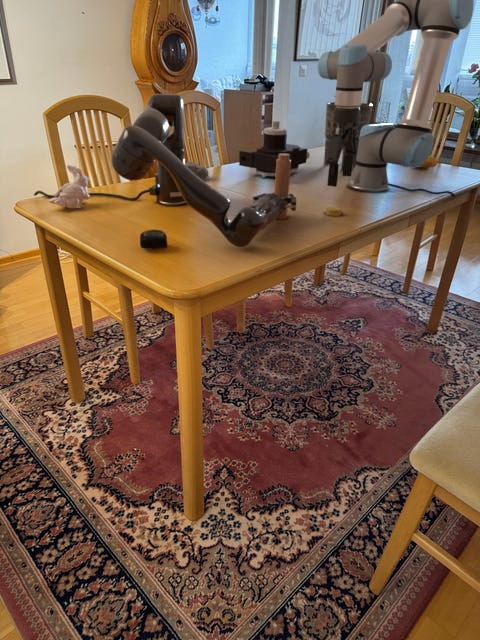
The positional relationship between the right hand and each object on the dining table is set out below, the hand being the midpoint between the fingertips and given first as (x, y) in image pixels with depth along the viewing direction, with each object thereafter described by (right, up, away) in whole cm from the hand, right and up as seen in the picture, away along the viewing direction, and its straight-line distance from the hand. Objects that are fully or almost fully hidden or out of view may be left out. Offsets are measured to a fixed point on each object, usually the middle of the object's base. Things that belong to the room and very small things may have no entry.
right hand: (339, 180), depth 143 cm
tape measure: (-53, -25, -25) cm, 64 cm away
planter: (+16, +27, +68) cm, 75 cm away
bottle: (-19, -11, 0) cm, 22 cm away
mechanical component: (-14, +20, +54) cm, 59 cm away
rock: (-50, +13, +41) cm, 66 cm away
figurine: (-86, -7, +5) cm, 86 cm away
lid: (-1, -8, +4) cm, 9 cm away
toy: (+55, +28, +71) cm, 94 cm away
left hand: (-18, -5, -1) cm, 18 cm away
